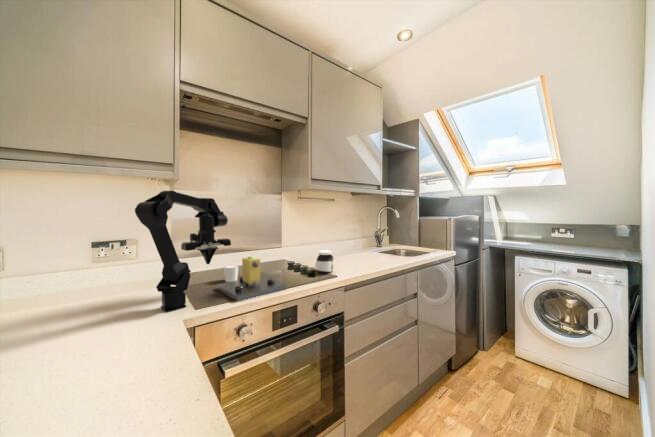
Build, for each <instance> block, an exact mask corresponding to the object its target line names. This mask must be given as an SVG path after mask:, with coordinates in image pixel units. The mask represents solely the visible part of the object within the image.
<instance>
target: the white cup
mask: <svg viewBox="0 0 655 437" xmlns="http://www.w3.org/2000/svg"><path fill="white" fill-rule="evenodd" d="M223 272H224V281H225V283H226V282H231V281H236V280H238V277H239V276H238V275H239V274H238V273H239V265H236V264H235V265H234V264H233V265H232V264H231V265H226V266H224V267H223Z"/></svg>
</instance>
